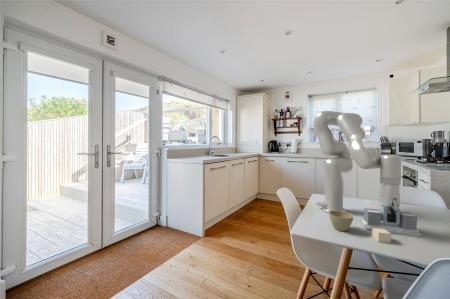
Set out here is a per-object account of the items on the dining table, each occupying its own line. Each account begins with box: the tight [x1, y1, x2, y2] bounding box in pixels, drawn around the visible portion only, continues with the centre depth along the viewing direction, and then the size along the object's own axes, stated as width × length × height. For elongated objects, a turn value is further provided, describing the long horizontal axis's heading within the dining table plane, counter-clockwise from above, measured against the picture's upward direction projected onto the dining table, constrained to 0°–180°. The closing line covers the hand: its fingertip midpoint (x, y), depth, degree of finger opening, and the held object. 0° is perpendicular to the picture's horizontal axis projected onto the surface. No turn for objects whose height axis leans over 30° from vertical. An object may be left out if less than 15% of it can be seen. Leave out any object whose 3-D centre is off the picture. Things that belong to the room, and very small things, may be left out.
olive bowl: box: [328, 211, 354, 232], centre depth 95 cm, size 10×10×7 cm
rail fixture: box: [360, 207, 422, 238], centre depth 94 cm, size 20×9×8 cm, turn 70°
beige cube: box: [371, 228, 392, 244], centre depth 84 cm, size 4×4×4 cm
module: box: [379, 204, 401, 224], centre depth 94 cm, size 6×4×7 cm
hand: (389, 219), depth 94 cm, fingers closed on module, 4 cm apart
